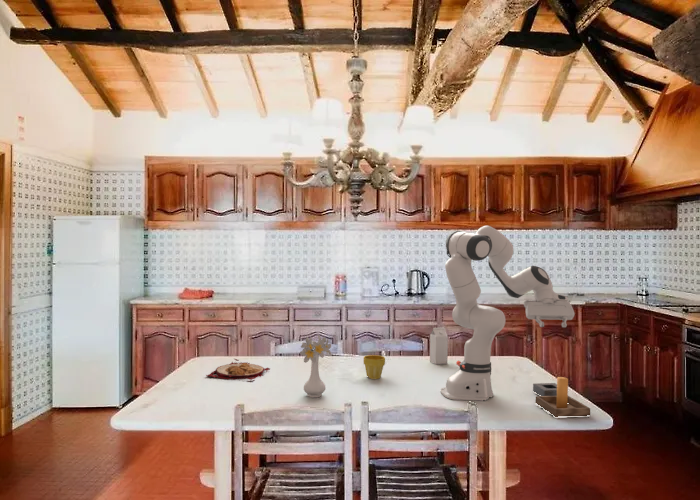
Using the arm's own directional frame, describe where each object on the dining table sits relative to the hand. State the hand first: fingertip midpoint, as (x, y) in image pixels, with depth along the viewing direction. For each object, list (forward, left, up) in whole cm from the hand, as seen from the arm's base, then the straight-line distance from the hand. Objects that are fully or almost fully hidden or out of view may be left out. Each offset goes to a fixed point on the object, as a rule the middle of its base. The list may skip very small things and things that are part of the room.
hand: (553, 326), depth 223 cm
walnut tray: (-5, -18, -30) cm, 36 cm away
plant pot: (-71, +36, -31) cm, 86 cm away
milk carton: (-31, +62, -31) cm, 76 cm away
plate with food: (-135, +50, -31) cm, 148 cm away
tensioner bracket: (0, +1, -30) cm, 30 cm away
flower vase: (-101, +9, -31) cm, 106 cm away
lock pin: (-5, -18, -29) cm, 35 cm away
